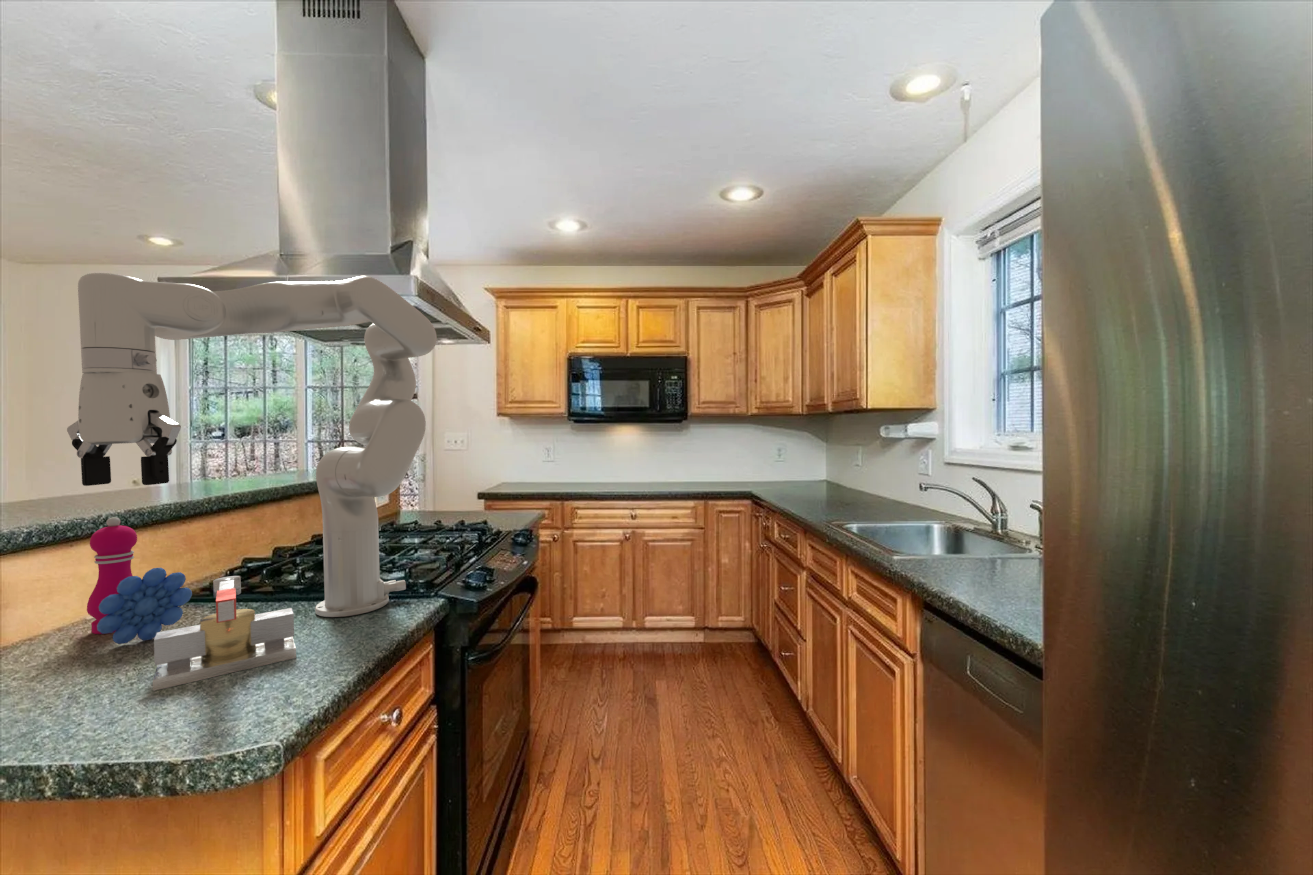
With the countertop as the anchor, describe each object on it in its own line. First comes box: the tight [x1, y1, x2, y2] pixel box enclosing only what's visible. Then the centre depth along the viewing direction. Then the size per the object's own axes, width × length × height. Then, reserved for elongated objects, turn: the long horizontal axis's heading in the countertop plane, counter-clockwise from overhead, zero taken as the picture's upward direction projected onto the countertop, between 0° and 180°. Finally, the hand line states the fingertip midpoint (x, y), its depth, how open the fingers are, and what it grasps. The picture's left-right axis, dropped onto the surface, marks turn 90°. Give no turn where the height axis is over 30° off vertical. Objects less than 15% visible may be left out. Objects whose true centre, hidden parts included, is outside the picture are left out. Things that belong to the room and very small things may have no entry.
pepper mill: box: [86, 516, 138, 635], centre depth 96 cm, size 7×7×20 cm
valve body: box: [152, 607, 297, 692], centre depth 80 cm, size 16×9×10 cm, turn 128°
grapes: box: [97, 567, 193, 645], centre depth 91 cm, size 12×7×12 cm, turn 136°
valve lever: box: [212, 575, 242, 623], centre depth 75 cm, size 16×3×3 cm, turn 38°
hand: (126, 484), depth 76 cm, fingers open, 9 cm apart
